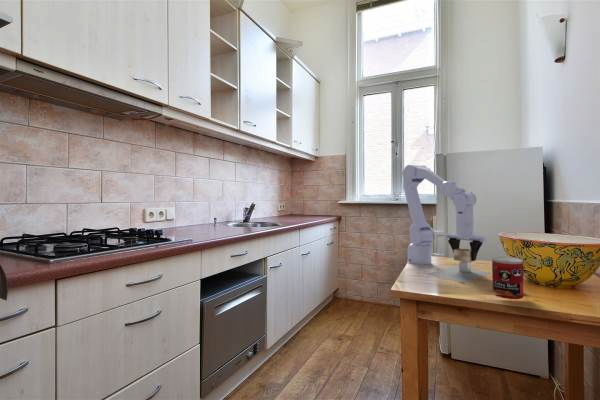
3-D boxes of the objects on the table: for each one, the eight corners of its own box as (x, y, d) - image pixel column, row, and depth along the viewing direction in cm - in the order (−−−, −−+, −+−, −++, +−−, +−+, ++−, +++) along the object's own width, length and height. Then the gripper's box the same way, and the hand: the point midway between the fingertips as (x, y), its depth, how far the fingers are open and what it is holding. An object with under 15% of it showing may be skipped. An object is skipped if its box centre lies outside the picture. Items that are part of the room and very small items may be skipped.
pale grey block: (459, 271, 114) (459, 262, 114) (463, 269, 116) (462, 260, 115) (467, 272, 111) (467, 263, 111) (471, 271, 113) (471, 262, 113)
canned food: (489, 295, 90) (489, 259, 90) (495, 289, 95) (495, 255, 95) (520, 301, 84) (520, 263, 84) (525, 294, 90) (525, 258, 90)
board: (426, 277, 110) (426, 274, 110) (453, 268, 122) (453, 266, 122) (465, 286, 99) (464, 282, 99) (491, 276, 111) (491, 272, 111)
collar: (453, 260, 114) (453, 249, 114) (461, 258, 117) (460, 247, 117) (469, 262, 109) (469, 251, 109) (476, 260, 113) (476, 249, 113)
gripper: (440, 223, 117) (441, 257, 117) (480, 225, 105) (480, 263, 105) (449, 221, 121) (450, 255, 121) (489, 224, 109) (489, 261, 109)
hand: (465, 259), depth 113 cm, fingers closed on collar, 6 cm apart
